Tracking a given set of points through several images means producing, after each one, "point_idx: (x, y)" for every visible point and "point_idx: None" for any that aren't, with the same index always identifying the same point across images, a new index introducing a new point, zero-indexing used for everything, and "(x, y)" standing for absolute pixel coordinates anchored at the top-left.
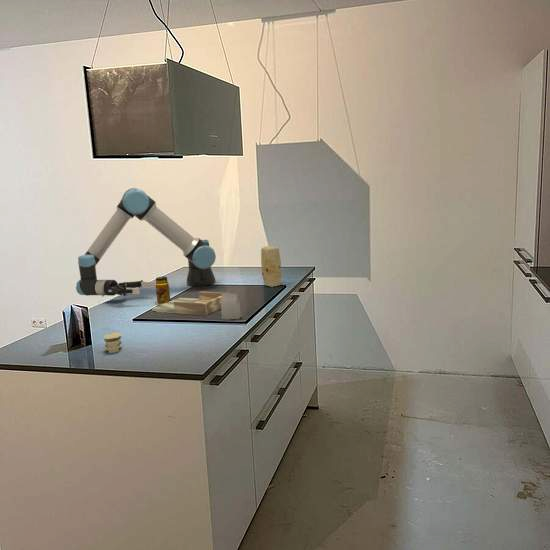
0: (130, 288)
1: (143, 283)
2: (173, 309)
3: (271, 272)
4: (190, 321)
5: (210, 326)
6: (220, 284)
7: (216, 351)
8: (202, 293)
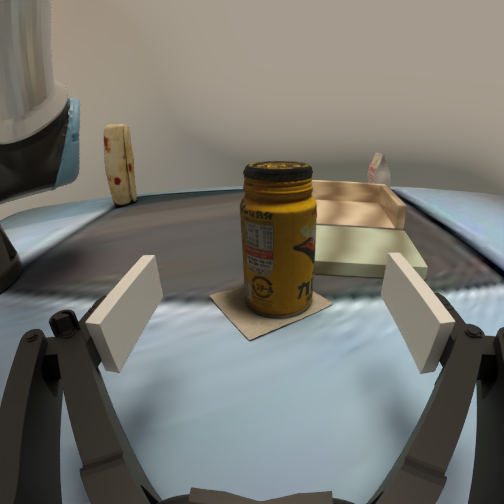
0: (430, 292)
1: (117, 320)
2: (402, 231)
3: (133, 171)
4: (428, 215)
5: (428, 201)
6: (37, 252)
7: (478, 194)
8: None
